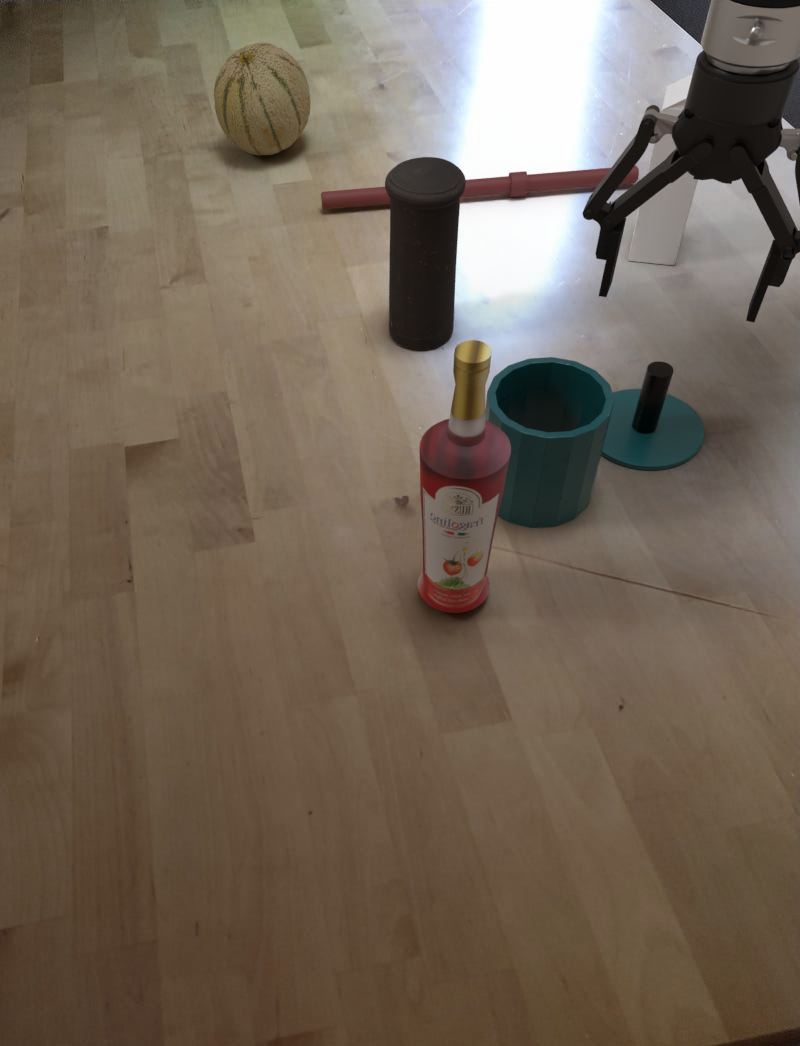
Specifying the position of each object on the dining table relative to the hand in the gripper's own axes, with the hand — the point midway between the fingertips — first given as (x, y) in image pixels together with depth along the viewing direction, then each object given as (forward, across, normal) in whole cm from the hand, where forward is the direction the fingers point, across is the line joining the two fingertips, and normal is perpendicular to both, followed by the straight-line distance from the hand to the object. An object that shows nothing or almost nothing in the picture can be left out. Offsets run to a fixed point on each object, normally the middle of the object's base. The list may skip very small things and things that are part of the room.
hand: (676, 301), depth 86 cm
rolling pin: (+16, -31, +43) cm, 55 cm away
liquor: (+17, -12, -28) cm, 35 cm away
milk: (+16, -5, +36) cm, 40 cm away
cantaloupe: (+17, -67, +48) cm, 84 cm away
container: (+17, -29, +11) cm, 35 cm away
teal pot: (+16, -8, -12) cm, 22 cm away
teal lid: (+16, 0, 0) cm, 16 cm away
